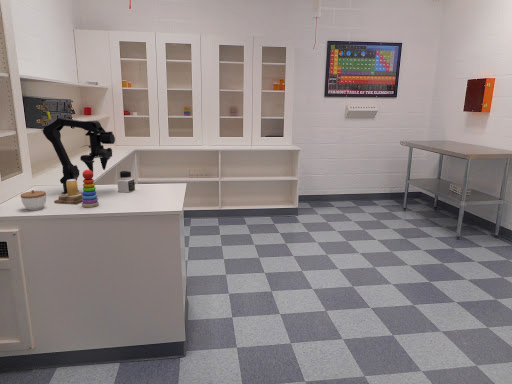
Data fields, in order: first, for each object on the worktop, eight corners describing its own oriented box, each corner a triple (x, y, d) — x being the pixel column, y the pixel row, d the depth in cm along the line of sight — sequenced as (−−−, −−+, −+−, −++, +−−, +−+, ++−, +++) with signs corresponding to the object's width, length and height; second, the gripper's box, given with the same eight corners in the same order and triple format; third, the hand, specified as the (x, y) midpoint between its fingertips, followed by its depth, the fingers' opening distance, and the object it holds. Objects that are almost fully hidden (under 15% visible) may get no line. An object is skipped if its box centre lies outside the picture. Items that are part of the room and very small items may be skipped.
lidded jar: (48, 209, 185) (46, 191, 183) (23, 212, 179) (20, 193, 177) (46, 204, 194) (44, 186, 191) (22, 207, 188) (19, 189, 186)
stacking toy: (81, 208, 187) (77, 171, 182) (82, 204, 194) (78, 168, 189) (99, 206, 190) (95, 170, 185) (98, 202, 197) (95, 167, 192)
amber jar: (71, 196, 197) (69, 181, 195) (65, 194, 200) (63, 180, 198) (80, 194, 201) (78, 179, 199) (75, 192, 204) (73, 178, 202)
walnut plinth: (54, 203, 196) (53, 196, 195) (70, 196, 208) (70, 191, 208) (76, 204, 194) (76, 198, 193) (91, 198, 206) (91, 192, 205)
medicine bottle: (129, 192, 218) (127, 172, 215) (118, 192, 219) (116, 172, 216) (135, 189, 225) (133, 170, 222) (124, 189, 226) (122, 169, 223)
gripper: (94, 146, 198) (97, 175, 202) (118, 142, 215) (120, 169, 219) (78, 145, 202) (81, 173, 206) (103, 141, 219) (105, 168, 223)
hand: (98, 171), depth 213 cm, fingers open, 9 cm apart
